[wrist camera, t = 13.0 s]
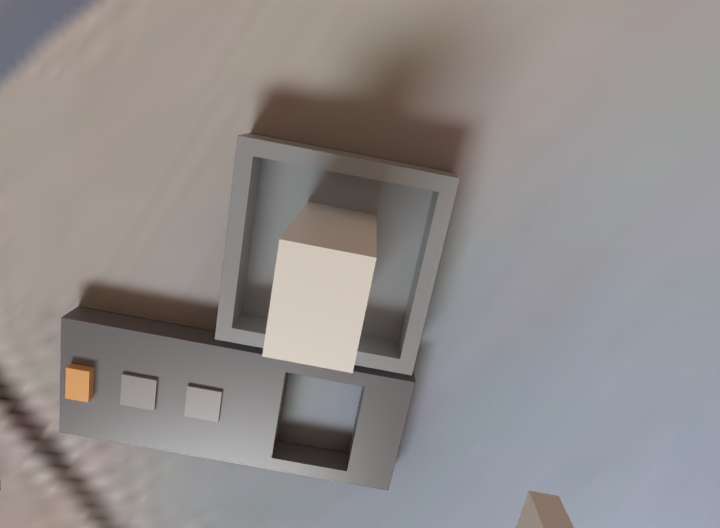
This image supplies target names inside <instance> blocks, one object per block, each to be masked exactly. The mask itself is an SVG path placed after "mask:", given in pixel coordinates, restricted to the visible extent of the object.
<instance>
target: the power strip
mask: <svg viewBox="0 0 720 528" xmlns="http://www.w3.org/2000/svg"><path fill="white" fill-rule="evenodd" d="M262 354H263V348H260V347H254V346H249V345H243V344H238V343H232V342H227V341H222V340H216V339H215V332H214V331H208V330H203V329H197V328H192V327H186V326H181V325H176V324H170V323H165V322H159V321H154V320H148V319H143V318H138V317H132V316H127V315H121V314H116V313H110V312H105V311H100V310H94V309H89V308H83V307H77V308H75V309H74V310H72V311H71V312H69V313H68V314H66V315H65V316H63V317H62V318H61V372H60V428H59V432H62V433H68V434H73V435H79V436H85V437H90V438H96V439H101V440H107V441H113V442H118V443H124V444H130V445H135V446H141V447H146V448H152V449H158V450H163V451H169V452H174V453H180V454H186V455H191V456H197V457H203V458H208V459H214V460H219V461H225V462H231V463H236V464H242V465H247V466H253V467H259V468H264V469H270V470H276V471H281V472H287V473H292V474H298V475H304V476H309V477H315V478H320V479H326V480H332V481H337V482H343V483H348V484H354V485H360V486H365V487H371V488H377V489H382V490H389V486H390V482H391V478H392V474H393V470H394V466H395V462H396V458H397V454H398V450H399V446H400V442H401V438H402V434H403V430H404V425H405V421H406V417H407V413H408V409H409V405H410V401H411V397H412V393H413V389H414V385H415V378H414V371H413V373H412V375H407V374H401V373H396V372H390V371H385V370H379V369H374V368H368V367H363V366H358V365H354V369H353V373H349V372H343V371H338V370H332V369H327V368H322V367H316V366H311V365H305V364H300V363H295V362H289V361H284V360H278V359H273V358H268V357H262ZM288 373H293V374H298V375H304V376H309V377H315V378H320V379H326V380H331V381H337V382H342V383H348V384H353V385H358V386H363V387H362V392H361V397H360V401H359V406H358V411H357V416H356V420H355V425H354V430H353V434H352V439H351V444H350V448H349V453H342V452H337V451H331V450H326V449H320V448H314V447H309V446H303V445H298V444H292V443H287V442H281V441H277V436H278V430H279V424H280V418H281V412H282V405H283V399H284V393H285V387H286V381H287V375H288Z"/></svg>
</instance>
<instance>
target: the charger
mask: <svg viewBox="0 0 720 528" xmlns="http://www.w3.org/2000/svg"><path fill="white" fill-rule="evenodd" d="M376 259H377V215H374V214H369V213H364V212H359V211H354V210H349V209H343V208H338V207H333V206H328V205H323V204H318V203H312V202H307V203H306V205H305V206H304V207H303V209H302V210H301V211H300V213H299V214H298V215H297V217H296V218H295V219H294V221H293V222H292V223H291V225H290V226H289V227H288V229H287V230H286V231H285V233H284V234H283V235H282V236H281V238H280V239H279V246H278V252H277V259H276V266H275V273H274V279H273V286H272V293H271V300H270V306H269V313H268V320H267V327H266V333H265V340H264V347H263V354H262V357H268V358H273V359H278V360H284V361H289V362H295V363H300V364H305V365H311V366H316V367H322V368H327V369H332V370H338V371H343V372H349V373H353V369H354V365H355V360H356V355H357V350H358V345H359V341H360V336H361V331H362V326H363V321H364V316H365V312H366V307H367V302H368V297H369V292H370V288H371V283H372V278H373V273H374V268H375V263H376Z"/></svg>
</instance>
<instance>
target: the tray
mask: <svg viewBox="0 0 720 528" xmlns="http://www.w3.org/2000/svg"><path fill="white" fill-rule="evenodd" d="M459 180H460V178H459V177H458V176H456V175H455V174H454V173H453V172H448V171H443V170H438V169H433V168H427V167H422V166H417V165H412V164H407V163H402V162H396V161H391V160H386V159H381V158H376V157H371V156H365V155H360V154H355V153H350V152H345V151H340V150H334V149H329V148H324V147H319V146H314V145H309V144H303V143H298V142H293V141H288V140H283V139H278V138H272V137H267V136H262V135H257V134H252V133H249V134H243V135H238V139H237V147H236V156H235V165H234V174H233V182H232V191H231V200H230V209H229V218H228V226H227V235H226V244H225V253H224V261H223V270H222V279H221V288H220V296H219V305H218V314H217V323H216V332H215V339H216V340H222V341H227V342H232V343H238V344H243V345H249V346H254V347H260V348H263V347H264V340H265V333H266V327H267V320H268V313H269V306H270V300H271V293H272V286H273V279H274V273H275V266H276V259H277V252H278V246H279V239H280V238H281V236H282V235H283V234H284V233H285V231H286V230H287V229H288V227H289V226H290V225H291V223H292V222H293V221H294V219H295V218H296V217H297V215H298V214H299V213H300V211H301V210H302V209H303V207H304V206H305V205H306V203H307V202H312V203H318V204H323V205H328V206H333V207H338V208H343V209H349V210H354V211H359V212H364V213H369V214H374V215H377V259H376V263H375V268H374V273H373V278H372V283H371V288H370V292H369V297H368V302H367V307H366V312H365V316H364V321H363V326H362V331H361V336H360V341H359V345H358V350H357V355H356V360H355V365H358V366H363V367H368V368H374V369H379V370H385V371H390V372H396V373H401V374H407V375H412V373H413V369H414V365H415V361H416V357H417V353H418V349H419V345H420V340H421V336H422V332H423V328H424V324H425V320H426V316H427V312H428V307H429V303H430V299H431V295H432V291H433V287H434V283H435V279H436V275H437V270H438V266H439V262H440V258H441V254H442V250H443V246H444V242H445V238H446V233H447V229H448V225H449V221H450V217H451V213H452V209H453V205H454V201H455V196H456V192H457V188H458V184H459Z"/></svg>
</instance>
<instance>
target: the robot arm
mask: <svg viewBox="0 0 720 528" xmlns="http://www.w3.org/2000/svg"><path fill="white" fill-rule="evenodd" d="M0 490H1V482H0ZM516 528H574V527H573V525H572V523H571V521H570V519H569V517H568V515H567V513H566V510H565V508H564V506H563V504H562V502H561V500H560V498H559V496H555V495H550V494H544V493H538V492H533V491H528V494H527V497H526V500H525V503H524V506H523V509H522V512H521V514H520V517H519V520H518V523H517V526H516Z"/></svg>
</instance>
